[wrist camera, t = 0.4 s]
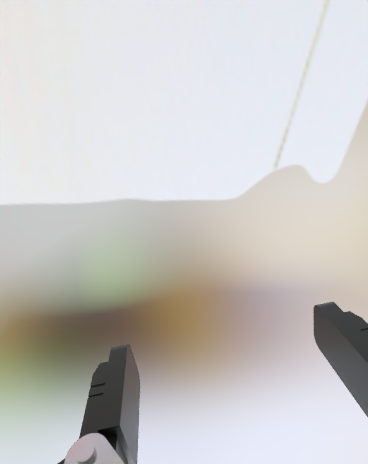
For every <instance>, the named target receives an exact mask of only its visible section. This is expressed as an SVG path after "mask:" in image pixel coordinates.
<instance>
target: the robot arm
mask: <svg viewBox="0 0 368 464" xmlns="http://www.w3.org/2000/svg"><path fill="white" fill-rule="evenodd" d="M314 337H315V340H316V343H317V345H318V347H319V349H320V350H321V352H322V353H323V355H324V356H325V357H326V359H327V360H328V362H329V363H330V365H331V366H332V367H333V369H334V370H335V371H336V373H337V374H338V376H339V377H340V379H341V380H342V381H343V383H344V384H345V386H346V387H347V388H348V390H349V391H350V392H351V394H352V395H353V397H354V398H355V400H356V401H357V403H358V404H359V405H360V407H361V408H362V410H363V411H364V413H365V414H366V415H367V417H368V324H367V323H366V322H365V321H364V320H363V319H362V318H361V317H359V316H357V315H355V314H353V313H351V312H350V311H349V312H343V311H342V310H341V309H340V308H339V307H338V306H337V305H336V304H335V303H334V302H329V303H324V304H320V305H315V306H314ZM139 398H140V379H139V373H138V369H137V365H136V363H135V359H134V356H133V353H132V350H131V346H130V345H129V344H127V345H122V346H117V347H112V348H111V351H110V356H109V362H104V363H100V365H99V366H98V368H97V369H96V371H95V372H94V374H93V377H92V382H91V388H90V391H89V398H88V400H87V405H86V409H85V414H84V419H83V423H82V428H81V433H80V437H79V440H77V442H75V443H74V444H73V446H72V447H71V448H70V449H69V451H68V453H67V455H66V458H65V459H64V460H62V461H61V462H60V463H58V464H137V451H138V425H139Z"/></svg>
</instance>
